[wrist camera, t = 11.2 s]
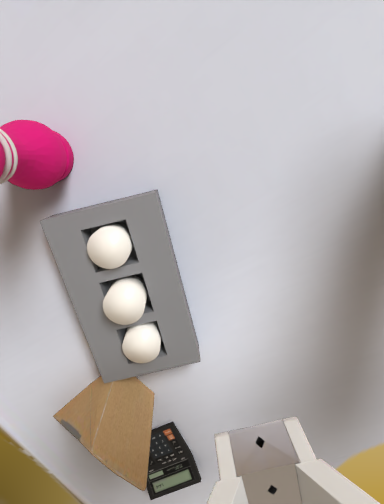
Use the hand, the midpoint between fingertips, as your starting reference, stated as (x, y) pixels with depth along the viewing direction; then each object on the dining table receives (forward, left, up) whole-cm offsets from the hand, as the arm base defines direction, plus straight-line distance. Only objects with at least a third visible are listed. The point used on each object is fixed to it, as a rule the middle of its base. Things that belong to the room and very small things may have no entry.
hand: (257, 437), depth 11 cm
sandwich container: (+21, +24, -32) cm, 45 cm away
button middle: (+11, +5, -29) cm, 31 cm away
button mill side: (+11, -2, -30) cm, 32 cm away
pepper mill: (+16, -14, -31) cm, 38 cm away
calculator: (+15, +37, -32) cm, 51 cm away
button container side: (+11, +12, -30) cm, 34 cm away
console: (+11, +5, -31) cm, 33 cm away
